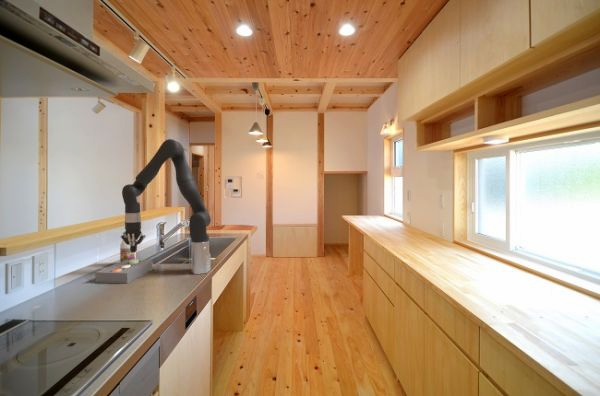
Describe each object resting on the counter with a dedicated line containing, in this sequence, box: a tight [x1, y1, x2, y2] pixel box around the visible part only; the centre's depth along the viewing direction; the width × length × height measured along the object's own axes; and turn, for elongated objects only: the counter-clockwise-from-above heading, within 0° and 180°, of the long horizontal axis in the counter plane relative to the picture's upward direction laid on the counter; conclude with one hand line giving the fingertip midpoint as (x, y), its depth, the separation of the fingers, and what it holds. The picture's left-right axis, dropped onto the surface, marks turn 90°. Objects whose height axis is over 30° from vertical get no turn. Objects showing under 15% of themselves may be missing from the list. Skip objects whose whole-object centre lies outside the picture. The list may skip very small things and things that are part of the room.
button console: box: [94, 259, 154, 284], centre depth 142 cm, size 16×21×5 cm
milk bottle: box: [119, 231, 137, 262], centre depth 160 cm, size 8×8×20 cm
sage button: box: [129, 258, 139, 264], centre depth 149 cm, size 4×4×4 cm
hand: (133, 252), depth 148 cm, fingers closed
